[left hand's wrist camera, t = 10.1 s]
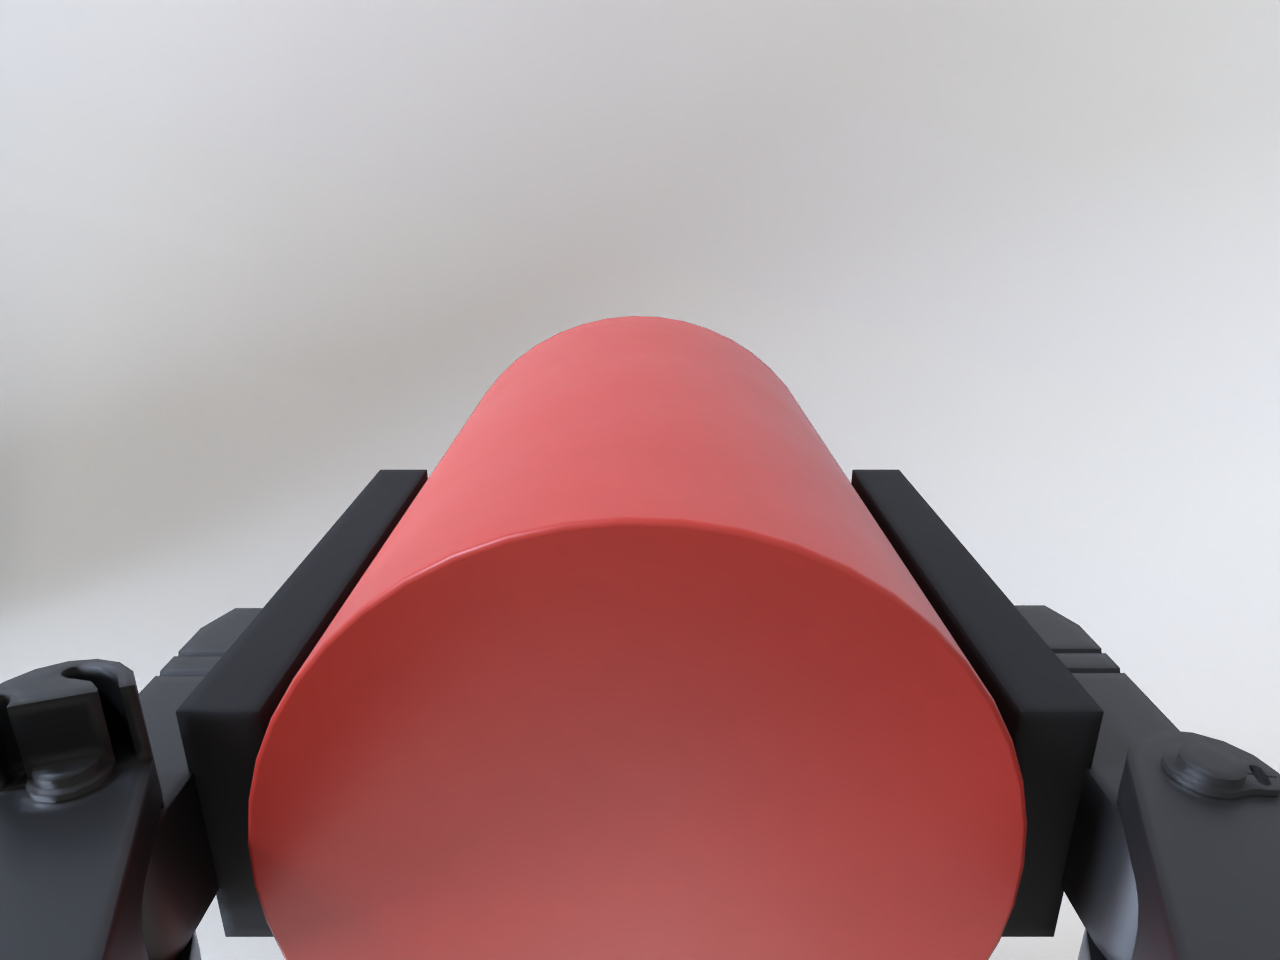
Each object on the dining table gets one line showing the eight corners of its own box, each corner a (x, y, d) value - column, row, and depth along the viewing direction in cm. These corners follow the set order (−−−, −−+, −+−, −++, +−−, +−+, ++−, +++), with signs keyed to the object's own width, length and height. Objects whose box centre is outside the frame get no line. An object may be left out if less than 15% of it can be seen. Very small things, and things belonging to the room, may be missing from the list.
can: (851, 335, 15) (1131, 563, 7) (788, 668, 18) (933, 1157, 9) (462, 296, 15) (217, 477, 6) (452, 639, 17) (265, 1112, 9)
